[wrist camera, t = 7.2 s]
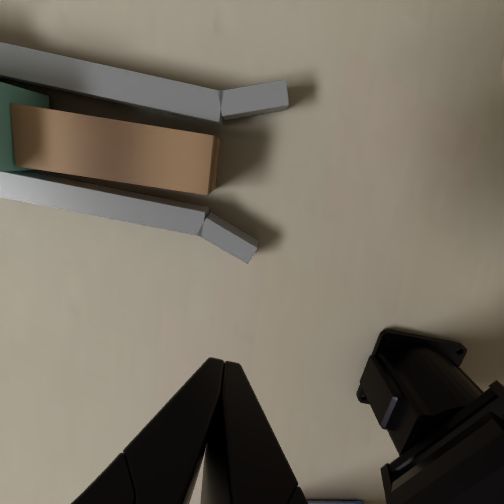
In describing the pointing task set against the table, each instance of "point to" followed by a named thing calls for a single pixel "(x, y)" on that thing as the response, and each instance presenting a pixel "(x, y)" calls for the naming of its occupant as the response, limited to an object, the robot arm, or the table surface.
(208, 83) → the table surface
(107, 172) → the batten
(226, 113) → the guide
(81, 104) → the table surface
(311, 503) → the ink cartridge box
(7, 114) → the block
